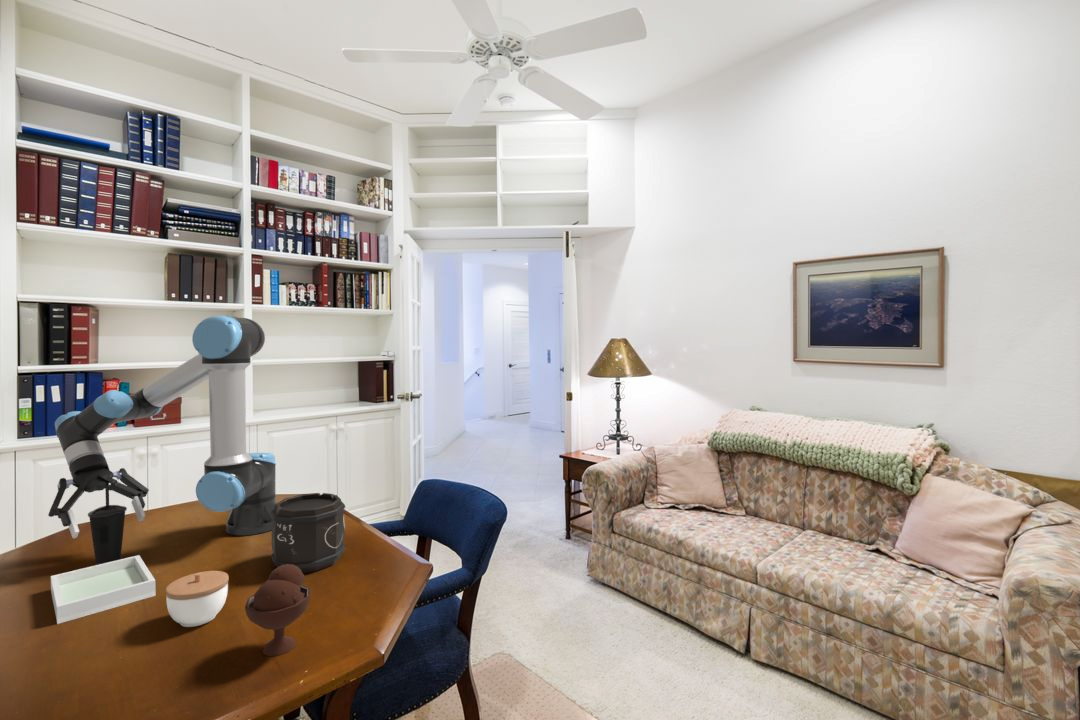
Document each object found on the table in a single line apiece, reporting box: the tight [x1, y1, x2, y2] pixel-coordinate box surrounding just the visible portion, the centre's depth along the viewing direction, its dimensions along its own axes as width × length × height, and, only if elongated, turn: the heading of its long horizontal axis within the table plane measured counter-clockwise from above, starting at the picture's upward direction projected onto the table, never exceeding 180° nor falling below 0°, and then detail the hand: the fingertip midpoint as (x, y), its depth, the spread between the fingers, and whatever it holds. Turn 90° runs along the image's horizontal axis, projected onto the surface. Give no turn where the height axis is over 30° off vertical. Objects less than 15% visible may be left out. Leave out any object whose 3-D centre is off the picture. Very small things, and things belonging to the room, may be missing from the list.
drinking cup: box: [87, 486, 128, 565], centre depth 130 cm, size 8×8×20 cm
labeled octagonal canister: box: [270, 492, 347, 574], centre depth 132 cm, size 18×18×16 cm
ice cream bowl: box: [244, 564, 311, 657], centre depth 93 cm, size 11×11×15 cm
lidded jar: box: [165, 570, 230, 628], centre depth 103 cm, size 11×11×9 cm
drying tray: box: [50, 554, 157, 625], centre depth 114 cm, size 20×16×4 cm
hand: (110, 526), depth 129 cm, fingers open, 13 cm apart
